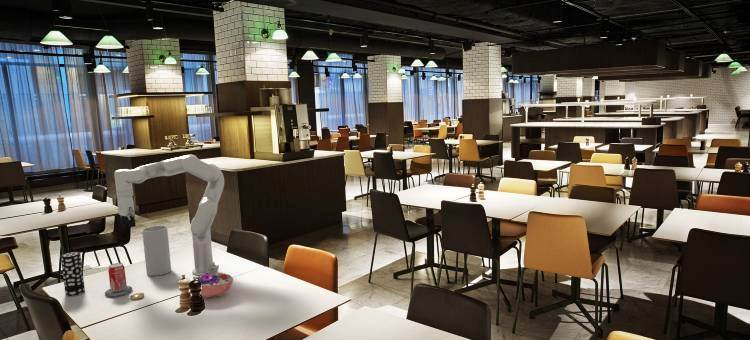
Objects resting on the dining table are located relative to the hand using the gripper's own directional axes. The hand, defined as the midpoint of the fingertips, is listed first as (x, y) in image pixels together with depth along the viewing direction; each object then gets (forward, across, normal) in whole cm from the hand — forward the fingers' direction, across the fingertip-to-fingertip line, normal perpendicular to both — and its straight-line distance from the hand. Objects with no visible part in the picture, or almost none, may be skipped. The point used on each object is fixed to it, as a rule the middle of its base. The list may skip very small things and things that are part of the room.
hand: (128, 225), depth 250 cm
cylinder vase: (+30, -2, +14) cm, 33 cm away
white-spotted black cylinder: (+30, -6, -26) cm, 40 cm away
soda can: (+29, +11, -12) cm, 33 cm away
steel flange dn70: (+30, +11, -12) cm, 34 cm away
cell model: (+31, +52, +16) cm, 63 cm away
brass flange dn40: (+30, +25, -8) cm, 40 cm away
